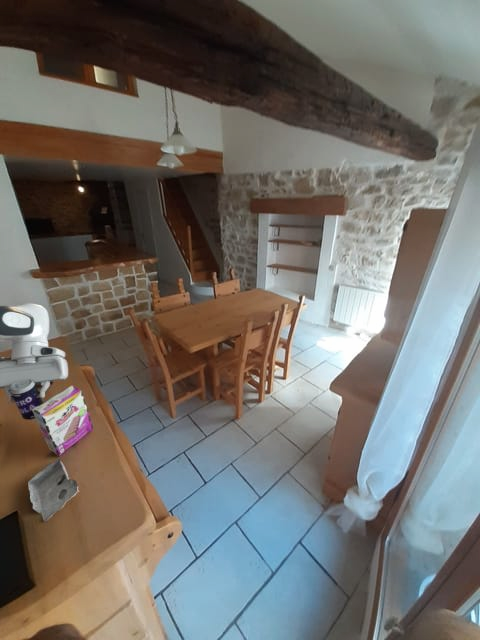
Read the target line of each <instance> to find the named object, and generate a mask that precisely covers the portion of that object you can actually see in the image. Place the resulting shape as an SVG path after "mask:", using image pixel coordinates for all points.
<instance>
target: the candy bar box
mask: <svg viewBox="0 0 480 640" xmlns="http://www.w3.org/2000/svg"><path fill="white" fill-rule="evenodd" d="M32 412H33V414H34V416H35V418H36V419H35V420H36V423H37V425H38V427H39V429H40V431H41V434H42V436H43V439H44V440H45V443H46V445H47V448H48V449H49V450H50V451H51V452H52V453H54V454H55V455H56V456H58V457H60V456H62V455H63V454H64V453H65V452H67V451H68V450H69V449H70V448H72V447H73V446H74V445H75V444H77V443H78V442H79V441H80V440H81V439H83V438H84V437H85V436H87V435H88V434H89V433H90V432H91V431H93V430H94V426H93V423H92V420H91V417H90V413H89V410H88V407H87V404H86V401H85V397H84V394H83V391H82V390H81V389H79V388H78V387H75V386H73V385H69V387H67V388H65V389H64V390H61V391H60V392H59V393H57V394H56V395H54V396H52V397H50V398H49V399H47V400H45V401H43V403H42V404H40V405H39V406H37V407H35V408H34V409H32Z"/></svg>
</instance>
